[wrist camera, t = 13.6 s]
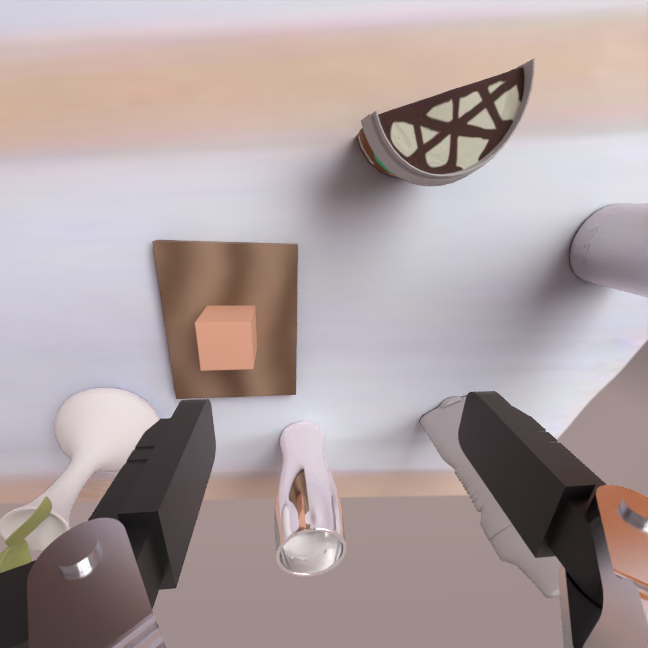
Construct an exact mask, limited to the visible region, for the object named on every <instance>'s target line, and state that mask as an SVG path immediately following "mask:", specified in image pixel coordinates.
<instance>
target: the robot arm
mask: <svg viewBox="0 0 648 648" xmlns="http://www.w3.org/2000/svg"><path fill="white" fill-rule="evenodd" d="M570 262H571V267H572V269H573V271H574V273H575V274H576V275H577V276H578V277H579V278H580V279H582V280H584V281H588V282H591V283H595V284H599V285H603V286H607V287H610V288H614V289H617V290H621V291H625V292H629V293H633V294H637V295H640V296H644V297H648V204H613V205H609V206H606V207H604V208H602V209H600V210H598V211H597V212H595V213H594V214H593V215H591V216H590V217H589V218H588V219H587V220H586V221H585V222H584V224H583V225H582V226H581V227H580V229H579V231H578V232H577V234H576V236H575V238H574V241H573V243H572V247H571V251H570ZM458 440H459V444H460V447H461V449H462V451H463V453H464V454H465V456H466V457H467V459H468V460H469V462H470V463H471V465H472V466H473V467H474V469H475V470H476V472H477V473H478V475H479V476H480V478H481V479H482V481H483V482H484V484H485V485H486V487H487V488H488V489H489V491H490V492H491V494H492V495H493V497H494V498H495V500H496V501H497V503H498V504H499V506H500V507H501V508H502V510H503V511H504V513H505V514H506V516H507V517H508V519H509V520H510V522H511V523H512V525H513V526H514V528H515V529H516V530H517V532H518V533H519V535H520V536H521V538H522V539H523V541H524V542H525V544H526V545H527V547H528V548H529V550H530V551H531V552H532V554H533V555H534V557H535V558H542V557H553V556H556V557H557V559H558V560H559V561H560V563H561V566H560V568H559V571H558V582H559V595H560V606H561V619H562V632H563V643H564V644H563V645H564V648H648V497H646V496H645V495H643V494H641V493H638V492H636V491H634V490H631V489H628V488H625V487H622V486H617V485H606V484H605V483H604V482H603V481H602V480H601V479H600V478H599V477H597V476H596V475H595V474H594V473H593V472H592V471H591V470H590V469H589V468H587V467H586V466H585V465H584V464H583V463H582V462H581V461H580V460H579V459H577V458H576V457H575V456H574V455H573V454H572V453H571V452H570V451H569V450H567V449H566V448H565V447H564V446H563V445H562V444H561V443H558V442H557V440H556V439H555V438H554V437H553V436H552V435H551V434H550V433H549V432H546V431H545V429H544V428H543V427H542V426H541V425H540V424H539V423H537V422H536V421H535V420H534V419H533V418H532V417H530V416H529V415H527V414H525V413H523V412H522V411H520V410H518V409H517V408H515V407H512V406H511V405H510V404H509V403H508V402H507V401H506V400H505V399H504V398H503V397H502V396H501V395H499V394H498V393H497V392H494V391H488V392H470V393H468V395H467V396H466V400H465V404H464V408H463V412H462V417H461V421H460V425H459V430H458ZM215 450H216V441H215V432H214V424H213V416H212V408H211V403H210V401H209V400H208V399H207V400H182V401H181V402H180V403H179V405H178V406H177V408H176V410H175V412H174V414H173V415H172V417H171V418H170V419H160V420H159V421H157V422H156V423H155V424H154V425H153V426H151V427H150V428H149V429H148V430H146V431H145V432H144V434H143V435H142V437H141V439H140V440H139V442H138V443H137V445H136V446H135V450H133V451H132V453H131V454H130V456H129V457H128V459H127V462H126V464H124V465H123V467H122V468H121V470H120V471H119V473H118V474H117V476H116V478H115V479H114V481H113V482H112V484H111V485H110V487H109V489H108V490H107V492H106V493H105V495H104V496H103V498H102V499H101V501H100V503H99V504H98V506H97V507H96V509H95V510H94V512H93V513H92V515H91V517H90V518H89V519H88V521H86V522H83V523H81V524H79V525H77V526H75V527H73V528H71V529H69V530H68V531H66V532H65V533H63V534H62V535H60V536H59V537H58V538H56V539H55V540H54V541H53V542H52V543H51V544H50V545H49V546H47V547H46V548H45V549H44V551H43V552H42V553H41V554H40V556H39V557H38V558H37V560H35V561H33V562H30V563H27V564H25V565H22V566H19V567H16V568H13V569H10V570H7V571H4V572H2V573H0V648H166V647H165V644H164V641H163V638H162V635H161V632H160V629H159V626H158V625H157V622H156V620H155V617H154V614H153V611H152V609H153V606H154V603H155V600H156V597H157V594H158V591H159V590H160V589H171V588H176V586H177V583H178V580H179V576H180V573H181V569H182V566H183V563H184V560H185V556H186V553H187V550H188V546H189V543H190V540H191V537H192V533H193V530H194V527H195V523H196V520H197V517H198V513H199V510H200V506H201V503H202V500H203V497H204V493H205V490H206V487H207V483H208V480H209V477H210V473H211V470H212V467H213V463H214V459H215Z"/></svg>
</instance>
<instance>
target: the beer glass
mask: <svg viewBox="0 0 648 648" xmlns="http://www.w3.org/2000/svg"><path fill="white" fill-rule="evenodd" d="M324 443H325V438H324V433H323V431H322V429H321V428H320V427H319V426H317V425H316V424H314V423H311V422H305V421H303V422H296V423H294V424H291V425H290V426H288V427H287V428H286V429H285V430H284V431H283V432H282V434H281V437H280V447H281V451H282V456H283V465H282V470H281V475H280V479H279V484H278V489H277V495H276V501H275V541H276V560H277V563H278V565H279V566H280V567H281V569H283V570H284V571H285V572H287V573H289V574H292V575H295V576H303V577H307V576H315V575H320V574H323V573H325V572H327V571H330V570H331V569H333V568H335V567H336V566H337V565H338V564H339V563H340V562H341V561H342V560H343V558H344V557H345V554H346V550H347V546H346V541H345V531H344V522H343V514H342V509H341V503H340V498H339V494H338V491H337V488H336V485H335V482H334V479H333V477H332V474H331V472H330V469H329V467H328V465H327V462H326V459H325V455H324Z"/></svg>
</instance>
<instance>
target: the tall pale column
mask: <svg viewBox="0 0 648 648" xmlns="http://www.w3.org/2000/svg"><path fill="white" fill-rule="evenodd" d="M465 400H466V396H463V397H461V398H460V397H450V398H447V399H446V400H444V401H443V402H442V403H441V405H440V406H438V407H437V408H435V409H433V410H431V411H429V412H428V413H426V414H424V415H423V416H422V417H421V418H420V424H421V425H422V427H423V428H424V430H425V431H426V433H427V434H428V436H429V438H430V439H431V441H432V443H433V444H434V446H435V447H436V449H437V451H438V452H439V454H440V455H441V457H442V459H443V460H444V461H445V462H447V463H448V464H449V465H450V466H451V467H452V468H454V469H455V474H456V475H457V477H458V478H459V481H461V482H462V484H463V487H464V488H465V490H466V491H467V494H469V495H470V498H471V499H472V502H473V503H475V504H474V506H475V508H476V510H477V511H479V512H481V520H480V525H481V527H482V529H483V531H484V533H485V535H486V536H487V538H488V540H489V541H490V543H491V545H492V546H493V548H494V550H495V551H496V553H497V555H498V556H499V558H500V560H502V561H505V562H508V563H510V564H513V565H516V566H517V567H518V568H519V569H520V570H521V571H522V572H523V573H524V574H525V575H526V576H527V577H528V578H529V579H530V580H531V581H532V582H533V583H534V584H535V585H536V586H537V588H538V589H539V590H540V591H541V592H542V593H543V595H544V596H545V597H546V598H552V597H557V596H560V595H559V582H558V571H559V568H560V566H561V563H560V561H559V560H558V559H557V557H556V556H553V557H542V558H535V557H534V555H533V554H532V552H531V551H530V550H529V548H528V547H527V545H526V544H525V542H524V541H523V539H522V538H521V536H520V535H519V533H518V532H517V530H516V529H515V528H514V526H513V525H512V523H511V522H510V520H509V519H508V517H507V516H506V514H505V513H504V511H503V510H502V508H501V507H500V506H499V504H498V503H497V501H496V500H495V498H494V497H493V495H492V494H491V492H490V491H489V489H488V488H487V487H486V485H485V484H484V482H483V481H482V479H481V478H480V476H479V475H478V473H477V472H476V470H475V469H474V467H473V466H472V465H471V463H470V462H469V460H468V459H467V457H466V456H465V454H464V453H463V451H462V449H461V447H460V444H459V440H458V430H459V425H460V421H461V417H462V412H463V408H464V404H465Z"/></svg>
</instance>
